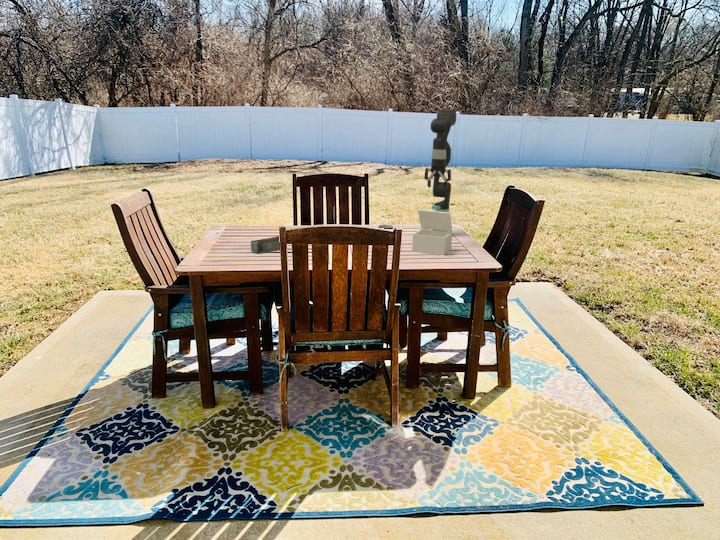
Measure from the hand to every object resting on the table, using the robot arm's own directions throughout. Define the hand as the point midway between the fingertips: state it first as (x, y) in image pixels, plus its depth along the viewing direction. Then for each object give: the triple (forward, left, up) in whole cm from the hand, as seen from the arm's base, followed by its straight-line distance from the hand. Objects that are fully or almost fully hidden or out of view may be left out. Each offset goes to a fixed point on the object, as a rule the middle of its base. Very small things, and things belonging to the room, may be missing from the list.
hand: (436, 188), depth 276 cm
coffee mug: (+3, -27, -34) cm, 44 cm away
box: (+5, +1, -34) cm, 35 cm away
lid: (+2, +1, -18) cm, 18 cm away
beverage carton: (+46, -79, -35) cm, 98 cm away
